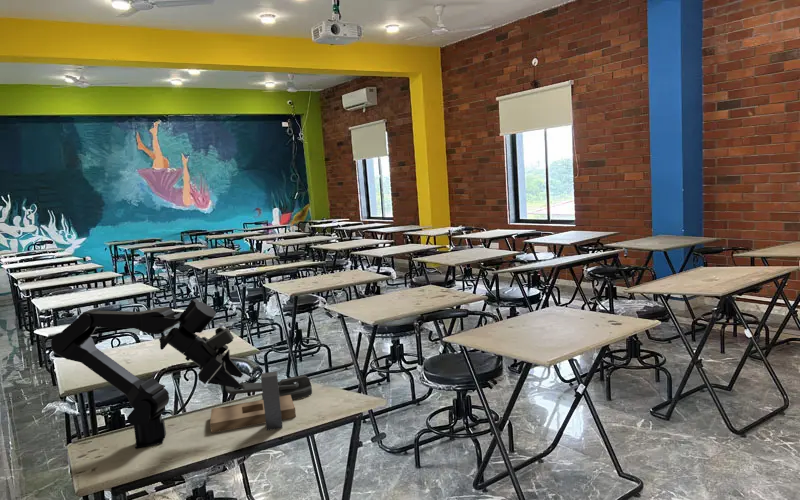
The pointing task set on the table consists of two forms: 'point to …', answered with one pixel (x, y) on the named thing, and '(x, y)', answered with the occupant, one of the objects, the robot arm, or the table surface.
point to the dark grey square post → (271, 400)
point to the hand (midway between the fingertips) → (240, 381)
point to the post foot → (247, 414)
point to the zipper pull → (285, 387)
